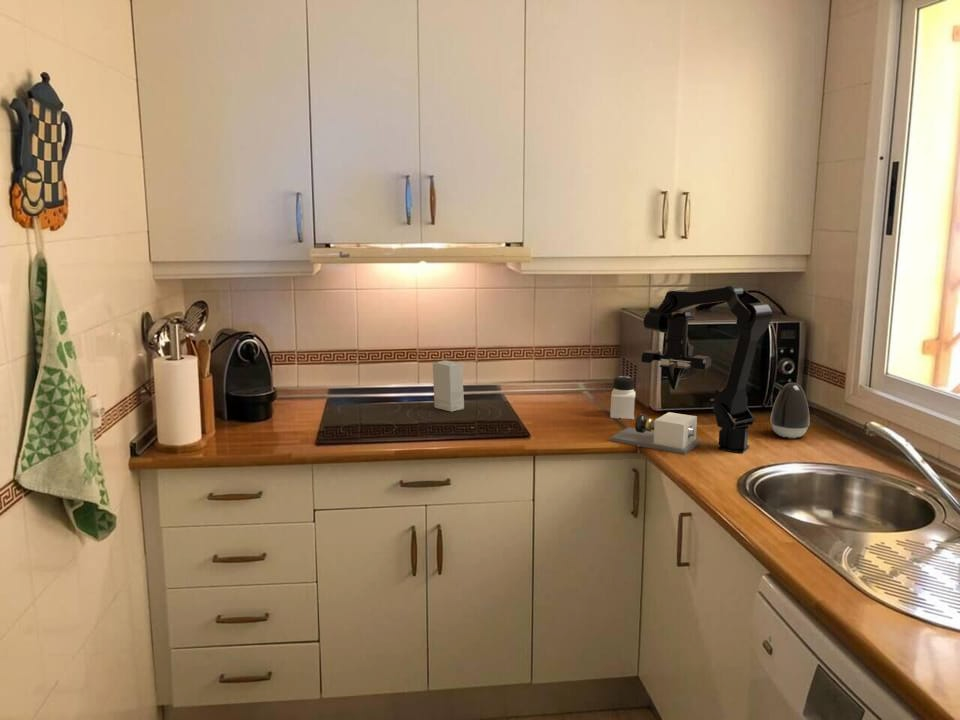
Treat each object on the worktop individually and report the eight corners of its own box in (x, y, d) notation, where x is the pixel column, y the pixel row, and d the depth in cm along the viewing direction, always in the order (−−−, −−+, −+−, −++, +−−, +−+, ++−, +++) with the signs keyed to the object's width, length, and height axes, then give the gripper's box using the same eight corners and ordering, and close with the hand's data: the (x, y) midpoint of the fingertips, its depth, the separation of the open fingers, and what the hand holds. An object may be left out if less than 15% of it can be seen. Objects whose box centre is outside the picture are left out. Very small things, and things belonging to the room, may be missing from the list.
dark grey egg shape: (778, 428, 232) (782, 377, 229) (814, 435, 224) (819, 382, 222) (762, 435, 225) (766, 382, 222) (798, 443, 217) (803, 388, 214)
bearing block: (700, 443, 217) (701, 416, 216) (684, 454, 208) (686, 426, 206) (628, 430, 229) (629, 405, 227) (610, 440, 219) (611, 414, 218)
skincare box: (464, 409, 252) (464, 362, 249) (450, 412, 248) (450, 365, 245) (446, 404, 258) (446, 359, 255) (432, 407, 254) (432, 361, 251)
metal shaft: (696, 439, 214) (697, 420, 213) (690, 443, 210) (691, 425, 209) (641, 429, 223) (642, 412, 222) (634, 434, 218) (635, 416, 218)
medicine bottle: (634, 419, 240) (635, 380, 238) (610, 418, 242) (611, 379, 240) (634, 413, 247) (636, 375, 245) (611, 412, 249) (612, 374, 246)
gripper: (718, 334, 226) (715, 388, 229) (655, 328, 236) (653, 379, 239) (706, 339, 217) (702, 395, 220) (641, 333, 227) (638, 386, 230)
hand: (674, 389), depth 227 cm, fingers closed
